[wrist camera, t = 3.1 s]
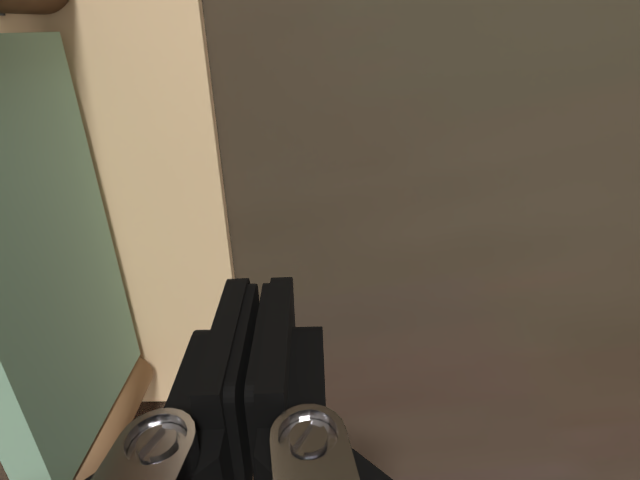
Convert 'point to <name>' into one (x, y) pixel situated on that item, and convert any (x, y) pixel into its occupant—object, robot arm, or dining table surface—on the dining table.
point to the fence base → (31, 6)
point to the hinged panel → (57, 280)
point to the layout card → (151, 161)
